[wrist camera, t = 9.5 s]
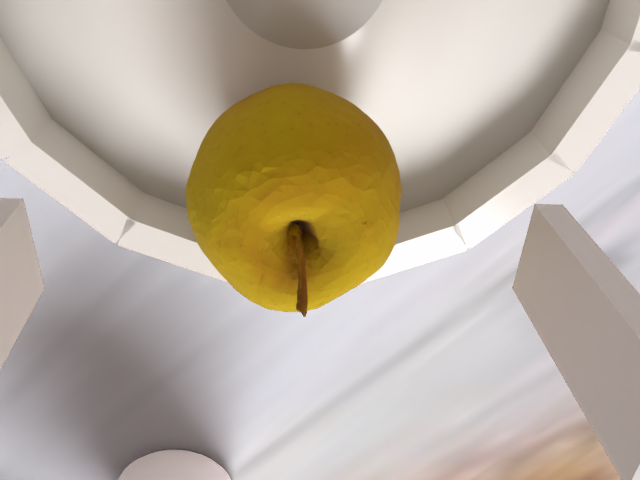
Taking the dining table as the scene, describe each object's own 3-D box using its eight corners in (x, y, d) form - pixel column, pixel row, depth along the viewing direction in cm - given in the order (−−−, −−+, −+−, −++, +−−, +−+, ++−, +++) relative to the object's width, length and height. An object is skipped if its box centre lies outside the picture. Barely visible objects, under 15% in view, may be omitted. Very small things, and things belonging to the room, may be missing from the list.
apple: (291, 248, 24) (293, 401, 17) (165, 139, 21) (108, 269, 14) (419, 145, 22) (479, 274, 15) (298, 9, 19) (304, 90, 12)
